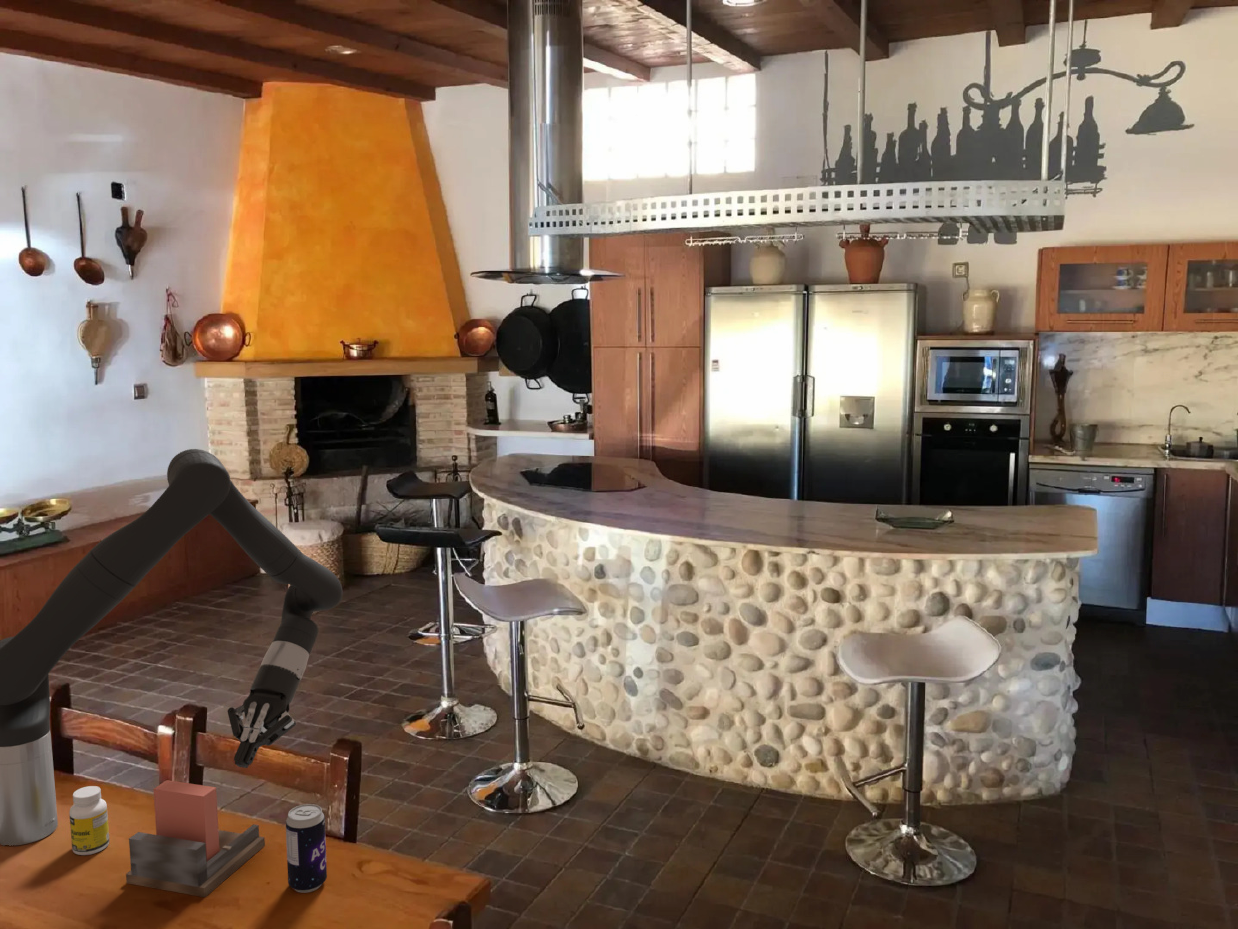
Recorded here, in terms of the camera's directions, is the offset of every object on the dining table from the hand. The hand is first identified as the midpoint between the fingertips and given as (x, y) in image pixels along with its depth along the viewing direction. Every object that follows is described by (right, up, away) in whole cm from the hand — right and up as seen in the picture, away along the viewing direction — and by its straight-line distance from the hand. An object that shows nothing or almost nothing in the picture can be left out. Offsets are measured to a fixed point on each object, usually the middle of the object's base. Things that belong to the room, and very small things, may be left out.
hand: (240, 766), depth 165 cm
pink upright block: (-3, -11, -12) cm, 17 cm away
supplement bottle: (-23, -12, -5) cm, 26 cm away
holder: (-3, -13, -10) cm, 16 cm away
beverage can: (+16, -14, -15) cm, 26 cm away
